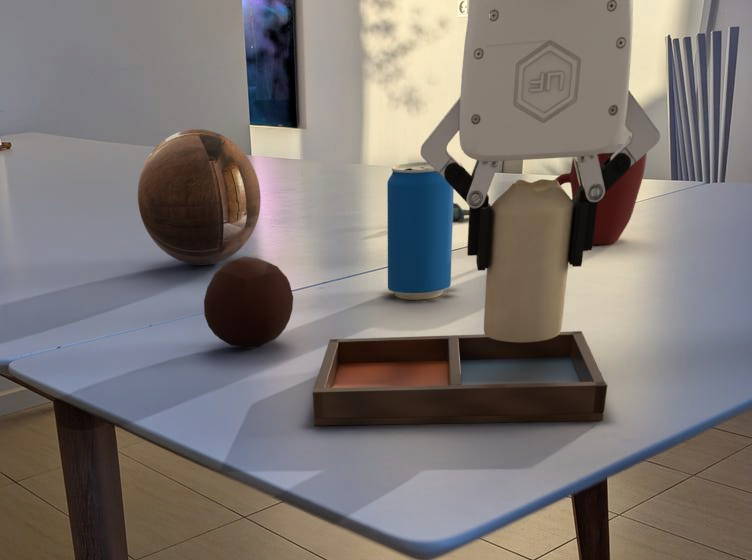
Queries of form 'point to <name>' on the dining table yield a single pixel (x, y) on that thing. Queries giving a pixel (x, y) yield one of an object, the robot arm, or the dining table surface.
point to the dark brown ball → (248, 302)
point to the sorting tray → (458, 381)
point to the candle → (528, 262)
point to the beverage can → (419, 231)
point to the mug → (612, 199)
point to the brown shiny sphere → (199, 197)
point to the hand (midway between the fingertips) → (527, 261)
